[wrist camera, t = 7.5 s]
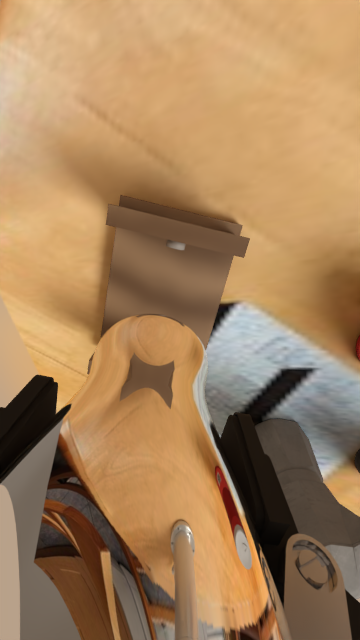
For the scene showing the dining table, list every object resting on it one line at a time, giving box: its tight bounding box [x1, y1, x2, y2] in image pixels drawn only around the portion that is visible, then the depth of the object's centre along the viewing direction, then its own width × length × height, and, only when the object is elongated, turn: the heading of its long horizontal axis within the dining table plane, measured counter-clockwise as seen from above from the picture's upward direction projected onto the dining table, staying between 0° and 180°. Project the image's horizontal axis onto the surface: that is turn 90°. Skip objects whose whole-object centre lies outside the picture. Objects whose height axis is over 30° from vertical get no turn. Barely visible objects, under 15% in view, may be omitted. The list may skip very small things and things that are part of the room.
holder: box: [87, 195, 250, 374], centre depth 26 cm, size 17×12×7 cm
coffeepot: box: [255, 419, 360, 599], centre depth 29 cm, size 15×9×18 cm, turn 148°
